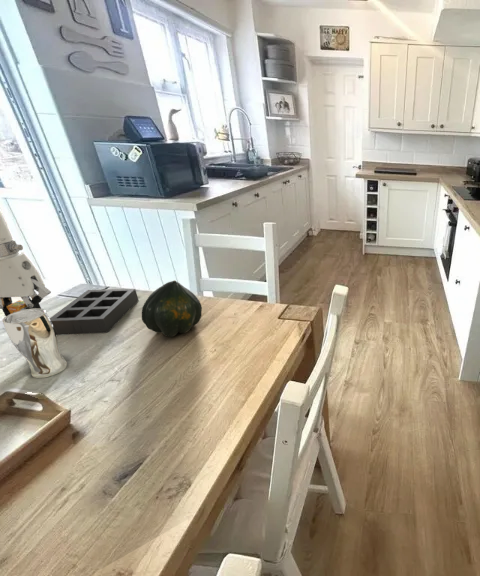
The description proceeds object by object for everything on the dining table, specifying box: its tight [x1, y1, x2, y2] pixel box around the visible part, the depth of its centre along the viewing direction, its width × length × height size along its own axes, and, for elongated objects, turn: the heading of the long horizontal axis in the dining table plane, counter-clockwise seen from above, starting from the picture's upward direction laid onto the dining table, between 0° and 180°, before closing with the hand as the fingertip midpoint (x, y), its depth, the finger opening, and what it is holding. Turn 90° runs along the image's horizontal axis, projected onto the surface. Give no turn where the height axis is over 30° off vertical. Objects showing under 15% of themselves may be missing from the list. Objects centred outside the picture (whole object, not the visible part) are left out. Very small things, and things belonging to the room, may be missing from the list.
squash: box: [141, 280, 203, 338], centre depth 93 cm, size 14×15×15 cm
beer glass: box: [2, 308, 68, 379], centre depth 74 cm, size 7×7×15 cm
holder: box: [49, 288, 140, 336], centre depth 97 cm, size 13×19×4 cm
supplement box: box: [6, 299, 28, 314], centre depth 80 cm, size 3×3×10 cm
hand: (26, 318), depth 80 cm, fingers closed on supplement box, 3 cm apart
